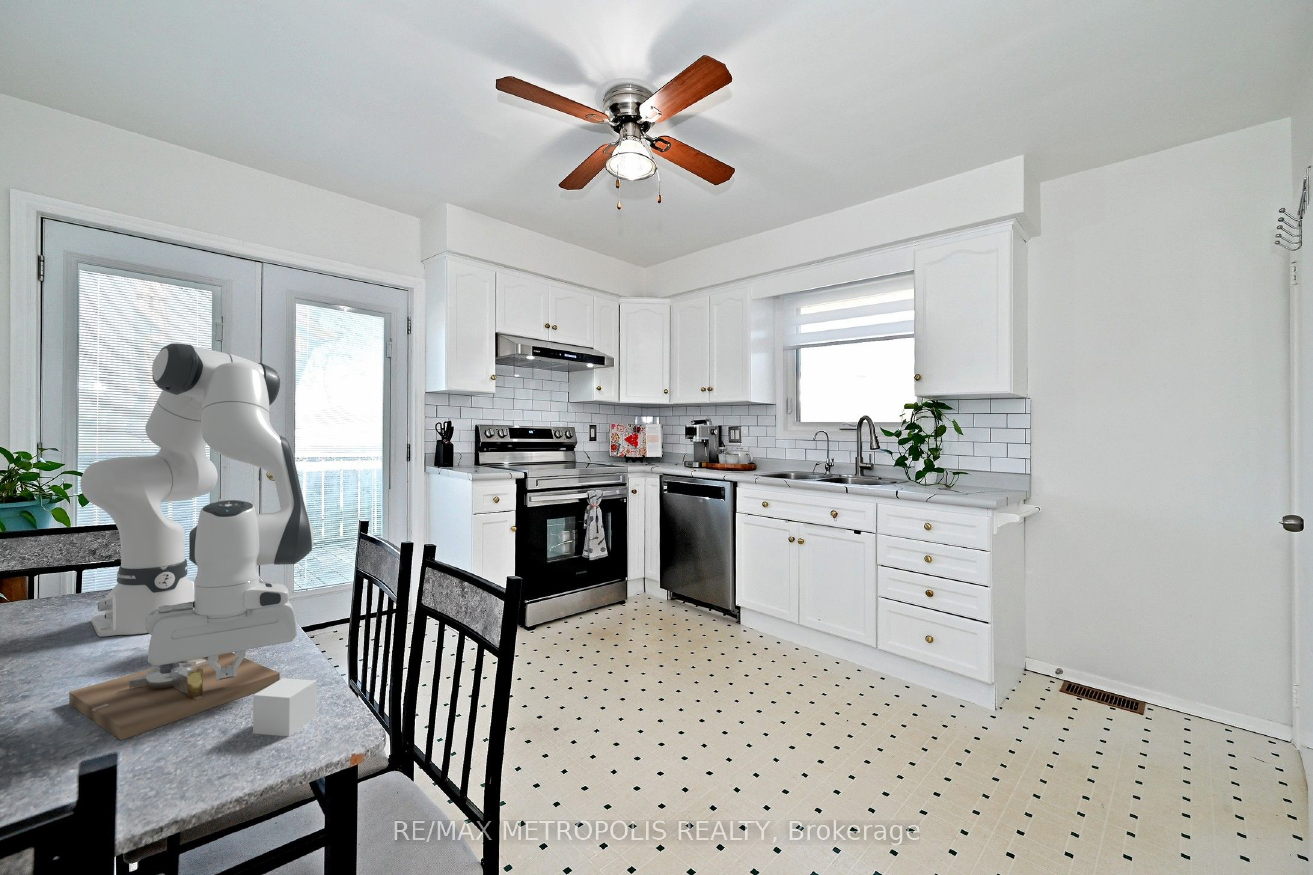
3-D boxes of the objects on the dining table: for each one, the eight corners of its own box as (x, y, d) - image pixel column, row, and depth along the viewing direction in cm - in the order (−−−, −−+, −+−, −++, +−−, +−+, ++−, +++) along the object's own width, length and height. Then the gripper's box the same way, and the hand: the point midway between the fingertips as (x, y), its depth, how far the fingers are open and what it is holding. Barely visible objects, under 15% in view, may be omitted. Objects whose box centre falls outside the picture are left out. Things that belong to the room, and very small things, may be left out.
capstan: (127, 686, 96) (127, 657, 96) (193, 666, 104) (193, 639, 104) (162, 707, 89) (162, 675, 89) (230, 684, 98) (230, 655, 97)
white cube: (282, 714, 93) (283, 677, 93) (316, 717, 92) (317, 680, 92) (252, 733, 87) (253, 694, 87) (289, 736, 86) (289, 697, 86)
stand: (64, 703, 95) (64, 676, 95) (220, 657, 114) (220, 635, 114) (118, 741, 84) (118, 711, 84) (279, 683, 103) (279, 659, 103)
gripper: (144, 613, 88) (143, 701, 89) (298, 592, 101) (297, 669, 101) (147, 602, 93) (146, 686, 94) (294, 584, 106) (293, 657, 106)
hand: (226, 677), depth 98 cm, fingers closed
